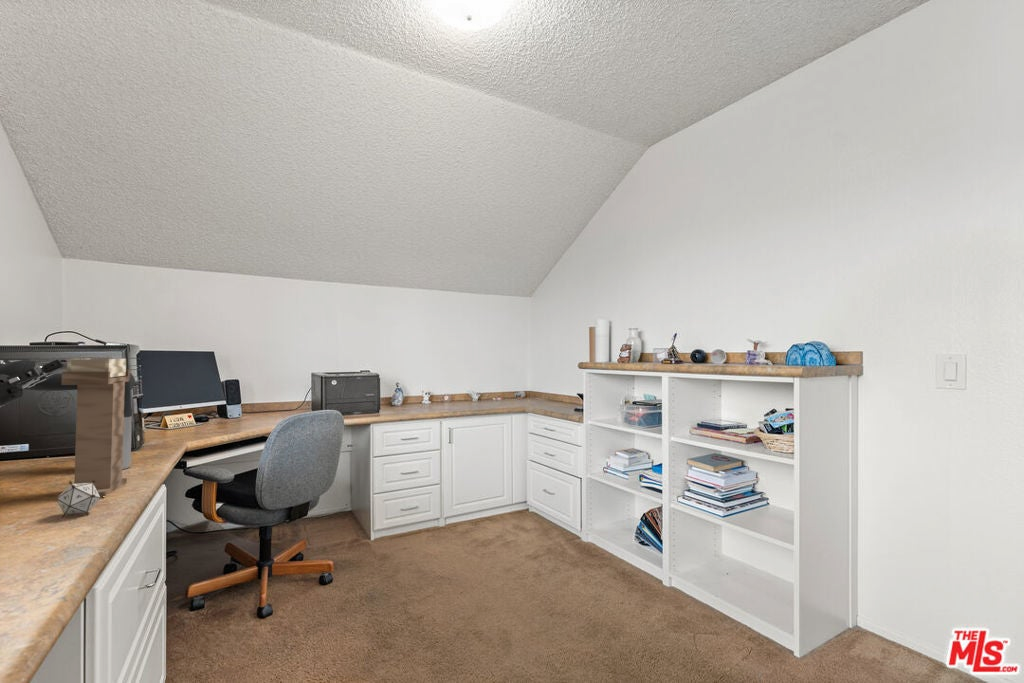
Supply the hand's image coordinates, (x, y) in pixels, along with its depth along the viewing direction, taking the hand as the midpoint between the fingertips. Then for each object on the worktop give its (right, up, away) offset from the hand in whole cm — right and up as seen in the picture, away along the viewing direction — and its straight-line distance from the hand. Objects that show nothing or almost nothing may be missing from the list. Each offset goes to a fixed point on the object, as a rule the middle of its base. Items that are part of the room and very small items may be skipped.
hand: (63, 362), depth 134 cm
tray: (+3, -4, +1) cm, 5 cm away
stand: (+7, -36, +2) cm, 37 cm away
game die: (+19, -36, -17) cm, 45 cm away
